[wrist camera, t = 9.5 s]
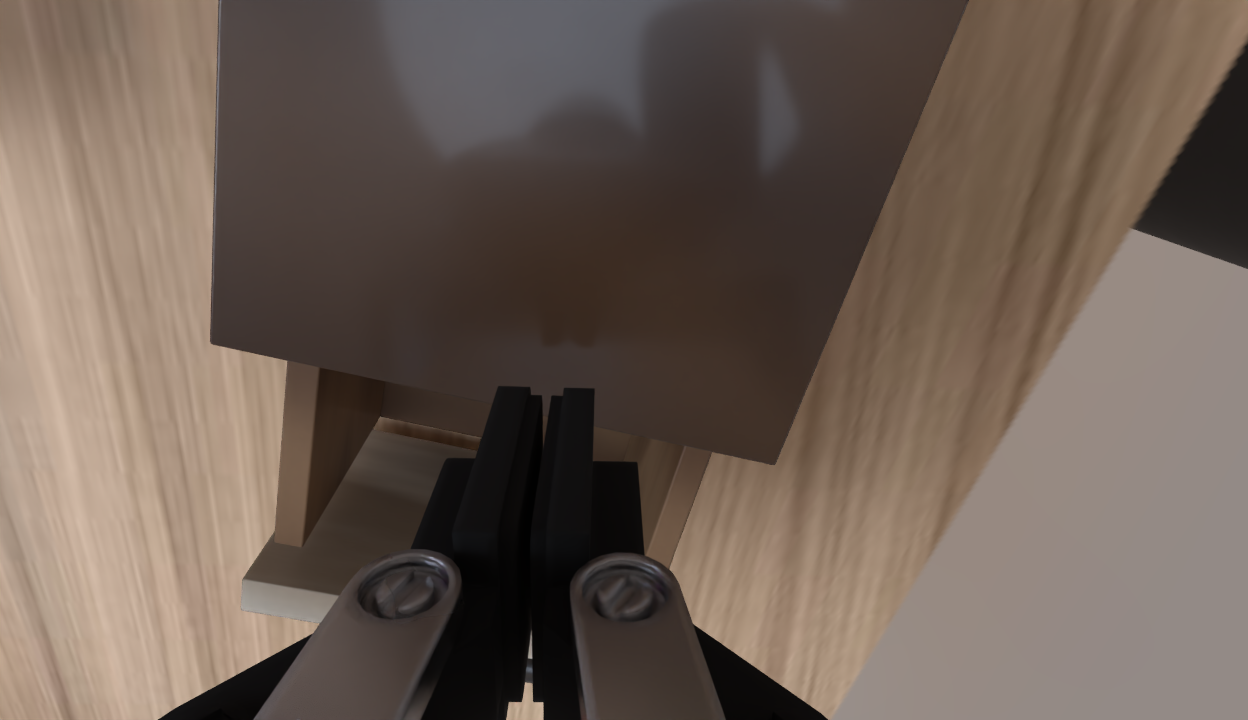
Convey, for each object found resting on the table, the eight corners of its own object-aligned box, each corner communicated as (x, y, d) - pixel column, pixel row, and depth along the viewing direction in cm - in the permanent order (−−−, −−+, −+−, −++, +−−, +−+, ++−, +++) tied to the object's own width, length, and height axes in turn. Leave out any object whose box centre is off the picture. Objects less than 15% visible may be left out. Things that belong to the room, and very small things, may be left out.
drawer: (613, 587, 31) (617, 773, 23) (333, 535, 30) (234, 717, 22) (751, 171, 24) (827, 236, 16) (387, 72, 22) (267, 88, 14)
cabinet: (713, 316, 27) (775, 466, 17) (358, 229, 25) (208, 344, 16) (873, -155, 21) (1106, -325, 11) (418, -314, 19) (232, -679, 9)
